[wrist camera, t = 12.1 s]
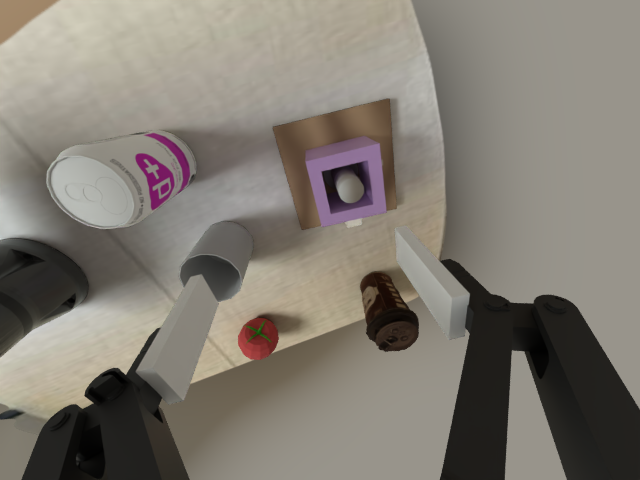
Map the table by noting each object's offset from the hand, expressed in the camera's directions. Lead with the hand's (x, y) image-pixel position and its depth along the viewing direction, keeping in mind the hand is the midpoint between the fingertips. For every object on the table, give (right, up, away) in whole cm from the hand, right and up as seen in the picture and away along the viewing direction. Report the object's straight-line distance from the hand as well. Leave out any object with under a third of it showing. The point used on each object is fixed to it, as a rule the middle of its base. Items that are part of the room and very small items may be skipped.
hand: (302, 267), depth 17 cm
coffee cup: (+12, -7, +33) cm, 36 cm away
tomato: (-11, -16, +36) cm, 41 cm away
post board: (+4, +13, +21) cm, 25 cm away
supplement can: (-21, +13, +19) cm, 31 cm away
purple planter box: (+4, +12, +20) cm, 24 cm away
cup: (-15, +1, +26) cm, 30 cm away
